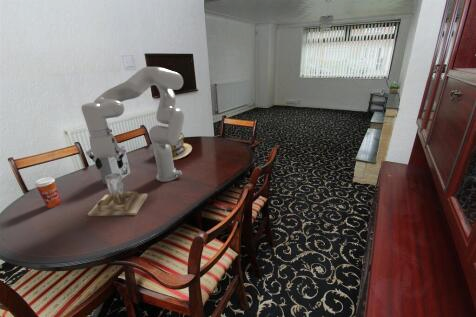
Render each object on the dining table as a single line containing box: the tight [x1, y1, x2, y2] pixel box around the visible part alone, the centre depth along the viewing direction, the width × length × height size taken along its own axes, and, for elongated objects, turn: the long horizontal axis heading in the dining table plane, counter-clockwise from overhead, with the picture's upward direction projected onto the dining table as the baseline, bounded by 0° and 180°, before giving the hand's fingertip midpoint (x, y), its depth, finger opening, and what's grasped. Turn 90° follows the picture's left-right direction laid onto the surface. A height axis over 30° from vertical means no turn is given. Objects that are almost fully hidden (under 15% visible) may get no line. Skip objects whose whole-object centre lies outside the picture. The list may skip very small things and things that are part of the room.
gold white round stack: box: [170, 131, 193, 161], centre depth 171 cm, size 25×25×17 cm
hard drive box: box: [99, 142, 131, 185], centre depth 138 cm, size 16×8×20 cm, turn 168°
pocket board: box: [87, 191, 148, 217], centre depth 116 cm, size 22×16×4 cm
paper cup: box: [34, 176, 62, 209], centre depth 115 cm, size 8×8×14 cm
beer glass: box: [105, 173, 127, 205], centre depth 113 cm, size 7×7×15 cm
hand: (110, 167), depth 108 cm, fingers open, 9 cm apart
